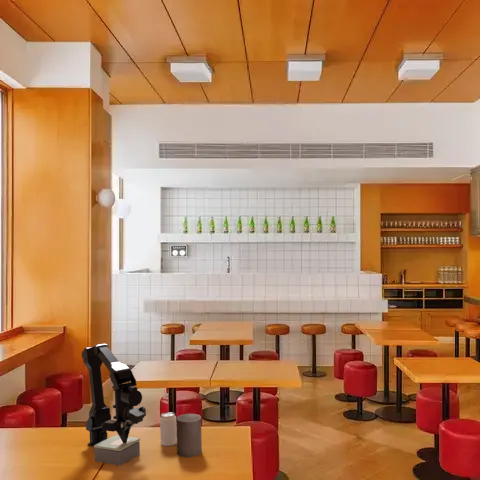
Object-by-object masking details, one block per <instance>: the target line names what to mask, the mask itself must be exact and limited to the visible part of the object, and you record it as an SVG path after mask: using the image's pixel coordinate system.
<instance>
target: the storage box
mask: <svg viewBox="0 0 480 480" xmlns="http://www.w3.org/2000/svg"><path fill="white" fill-rule="evenodd" d="M140 446H141V445H140V441H138V442H136V443H134V444H132V445H131V446H129V447H127V448H125V449H123V450H121V451H115V450H108V449H101V448H94V447H93V448H94V451H93V452H94V462H99V463H104V464H109V465H112V466H118V467H120V466H123V465H125V464H126V463H128V462H130V461H131V460H133V459H135V458H136V457H138V456H139V455H141V453H140V451H141V450H140V448H141V447H140Z"/></svg>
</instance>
